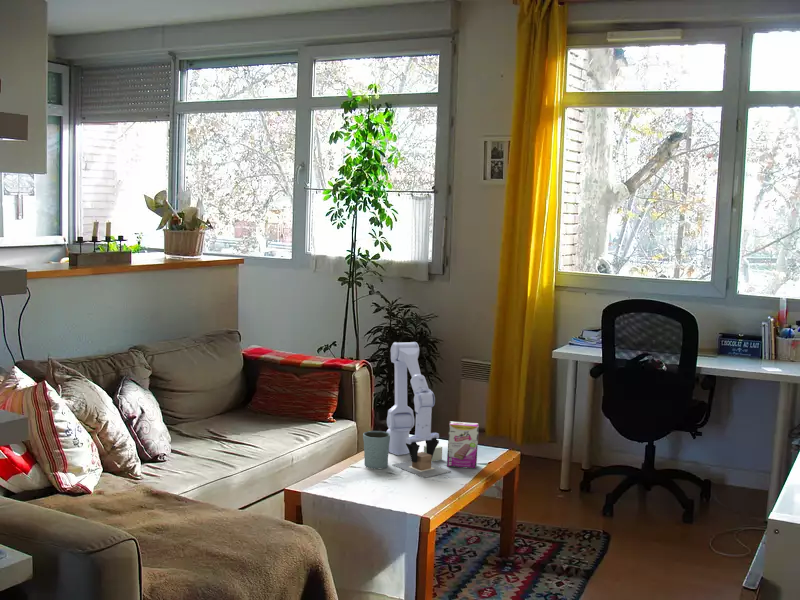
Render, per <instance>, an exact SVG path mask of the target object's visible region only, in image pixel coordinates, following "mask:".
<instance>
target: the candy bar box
mask: <svg viewBox="0 0 800 600" xmlns="http://www.w3.org/2000/svg"><path fill="white" fill-rule="evenodd" d="M479 425H480V424H479V423H477V422H464V421H462V422H461V421H451V420H450V421H449V424H448V438H447V439H448V442H447V454H446V456H447V457H446V467H449V466H455V467H454V468H462V467H467V468H466V469H477V463H478V461H477V460H478V449H479V448H478V447H479V446H478V445H479V444H478V443H479V429H480V428H479V427H480V426H479Z"/></svg>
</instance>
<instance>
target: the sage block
mask: <svg viewBox="0 0 800 600" xmlns="http://www.w3.org/2000/svg"><path fill="white" fill-rule="evenodd" d="M423 452H425V453H427V447H426V445H424V446H423ZM440 459H442V460H443V446H441V445H439V444H438V445H437V446H436V448H435V451H434V453H433V457H432V459H431V462H432V461H433V462H437V461H441V460H440ZM436 460H437V461H436Z"/></svg>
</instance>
